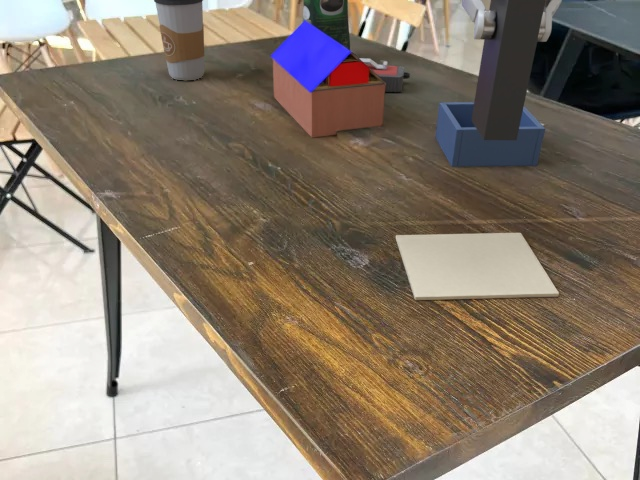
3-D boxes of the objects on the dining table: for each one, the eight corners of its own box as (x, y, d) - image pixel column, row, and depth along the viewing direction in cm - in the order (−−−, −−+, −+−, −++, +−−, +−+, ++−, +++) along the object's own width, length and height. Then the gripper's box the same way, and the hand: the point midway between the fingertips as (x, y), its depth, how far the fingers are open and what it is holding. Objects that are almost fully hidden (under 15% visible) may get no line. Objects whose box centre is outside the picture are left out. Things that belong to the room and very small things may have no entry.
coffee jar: (340, 52, 133) (342, -51, 122) (354, 62, 127) (359, -45, 116) (295, 56, 130) (294, -49, 119) (308, 66, 124) (308, -43, 113)
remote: (504, 120, 62) (536, -46, 54) (518, 140, 58) (556, -37, 50) (470, 120, 62) (497, -47, 53) (483, 140, 58) (514, -37, 49)
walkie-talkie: (409, 79, 119) (301, 73, 121) (411, 54, 116) (301, 48, 118) (408, 94, 112) (293, 88, 114) (410, 67, 109) (293, 62, 111)
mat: (520, 235, 72) (520, 232, 72) (558, 296, 62) (559, 293, 62) (395, 238, 71) (395, 235, 71) (414, 300, 62) (415, 297, 61)
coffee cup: (155, 75, 119) (142, -16, 110) (193, 67, 123) (184, -21, 114) (180, 86, 114) (169, -8, 105) (219, 77, 118) (211, -14, 109)
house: (337, 90, 113) (339, 17, 106) (385, 129, 98) (391, 48, 91) (271, 96, 110) (269, 22, 103) (310, 138, 95) (310, 55, 88)
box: (512, 139, 95) (520, 101, 92) (536, 169, 87) (545, 128, 83) (434, 140, 94) (439, 102, 91) (451, 170, 86) (456, 129, 83)
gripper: (398, -143, 54) (390, 9, 52) (651, -139, 53) (652, 17, 51) (393, -85, 60) (386, 53, 58) (619, -80, 59) (619, 61, 57)
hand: (512, 36), depth 54 cm, fingers closed on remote, 3 cm apart
